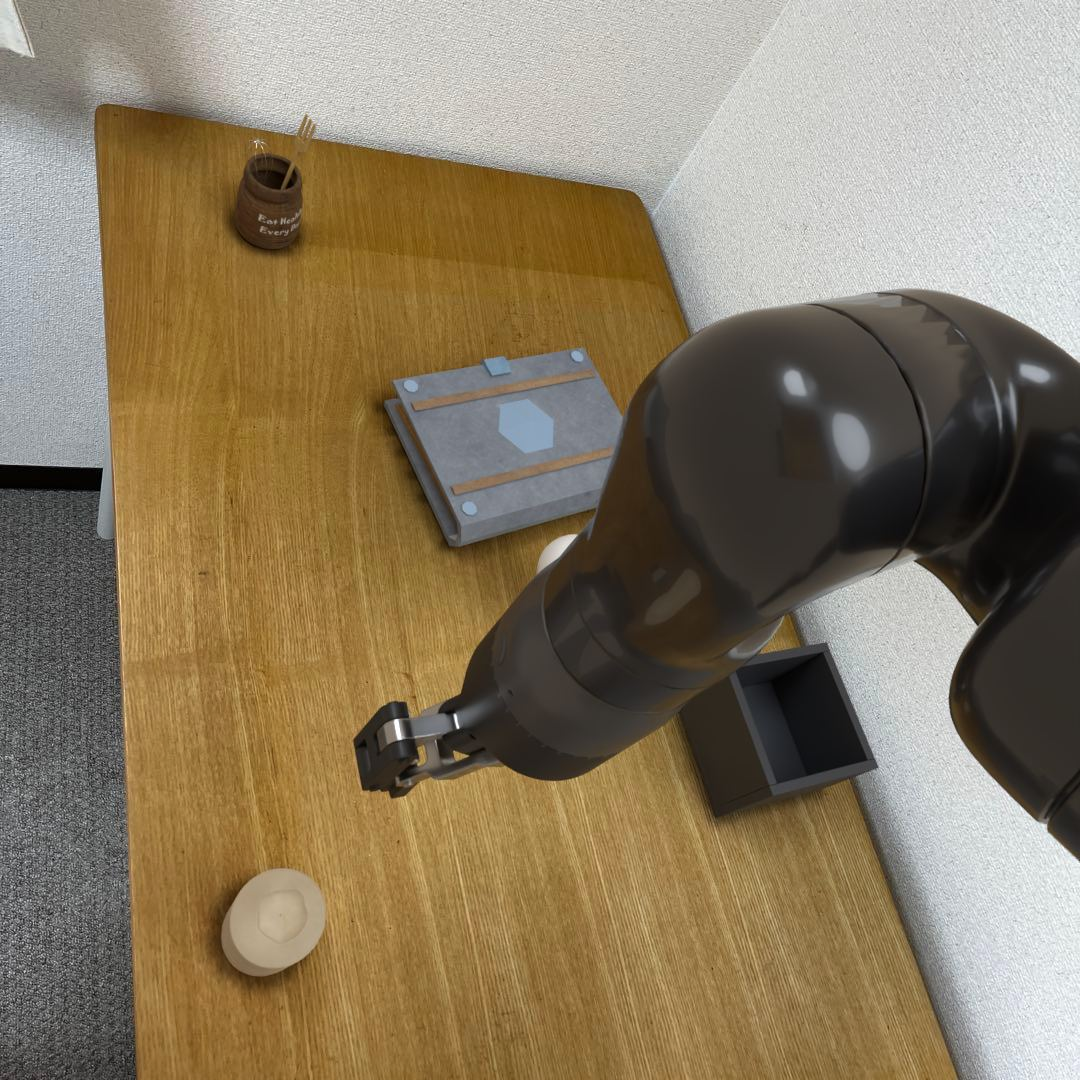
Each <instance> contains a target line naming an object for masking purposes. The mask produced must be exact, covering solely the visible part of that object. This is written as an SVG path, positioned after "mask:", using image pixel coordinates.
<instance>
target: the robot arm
mask: <svg viewBox="0 0 1080 1080" xmlns="http://www.w3.org/2000/svg"><path fill="white" fill-rule="evenodd" d="M622 417H623V420H622V423H621V426H620V430H619V433H618V437H617V440H616V443H615V447H614V450H613V454H612V457H611V461H610V464H609V468H608V471H607V474H606V477H605V480H604V482H603V485H602V489H601V492H600V496H599V500H598V505H597V508H595V509H596V510H595V513H594V515H593V517H591V518H590V519H589V521H588V522H587V523H586V524H585V526H583V528H582V529H581V530H580V532H579V533H577V534H578V535H577V536H576V538H575V539H574V540H573V541H572V542H571V543H570V545H569V546H568V547H567V548H566V549H565V551H564V552H563V553H562V554H561V556H560V557H559V558H557V559H556V560H554V561H553V562H552V563H550V564H549V565H548V566H546V567H545V568H544V569H543V570H541V571H540V572H539V573H538V574H537V573H536V575H535V576H534V577H533V578H532V579H531V580H530V581H529V582H528V583H527V584H526V585H525V587H524V588H523V589H522V591H521V592H519V594H518V595H517V596H516V597H515V599H514V600H513V602H512V603H511V604H510V605H509V606H508V607H507V608H506V610H505V611H504V613H503V614H502V615H501V616H500V617H499V618H498V620H497V621H496V622H495V624H494V625H493V626H492V627H491V628H490V629H489V630H488V632H487V633H486V634H485V636H483V638H482V639H481V641H480V642H478V645H477V646H476V648H475V649H474V651H473V653H472V655H471V656H470V659H469V662H468V664H467V667H466V669H465V670H466V671H465V674H464V678H463V682H462V686H461V691H460V693H459V694H456V695H454V696H452V697H449V698H448V699H444V700H443V701H440V702H438V703H435V704H433V705H431V706H429V707H426V708H424V709H422V710H421V711H420V712H419V715H418V716H415V717H414V716H413V717H412V716H411V711H410V709H409V707H408V703H407V702H406V701H398V700H392V701H390V702H387V703H386V704H384V705H382V706H381V707H379V709H378V710H376V712H375V713H374V714H373V716H372V717H371V718H370V719H369V720H368V721H367V722H366V723H365V725H364V726H363V727H362V728H361V730H360V731H359V732H358V733H357V734H356V736H355V737H354V738H353V739H352V741H353V742H352V743H353V748H354V753H355V759H356V765H357V770H358V775H359V781H360V785H361V786H360V787H361V791H362V792H368V791H369V792H370V793H372V792H373V793H374V792H379V791H380V792H381V793H386V792H388V795H389V797H390V799H391V800H392V799H397V798H402V797H406V796H407V795H408V794H409V793H410V792H411V791H412V790H413V789H414V788H415V787H416V786H417V785H418V784H419V783H420V782H422V781H425V780H428V779H432V780H434V781H455V780H457V779H460V778H462V777H464V776H468V775H470V774H473V773H475V772H477V771H480V770H482V769H485V768H503V767H507V768H508V769H509V770H512V771H513V772H516V773H518V774H519V775H521V776H524V777H527V778H530V779H534V780H539V781H545V782H561V781H568V780H572V779H573V780H574V779H576V778H579V777H582V776H584V775H586V774H588V773H590V772H592V771H593V770H595V769H596V768H598V767H599V766H602V765H603V764H605V763H606V762H607V761H610V760H611V759H613V758H614V757H615V756H617V755H619V754H620V753H622V752H624V751H626V750H627V749H628V748H631V747H632V746H633V745H635V744H636V743H639V742H640V741H642V740H643V739H645V738H647V737H649V735H651V734H653V733H654V732H656V731H658V730H660V728H661V727H664V726H665V725H666V724H667V723H668V722H670V721H671V720H672V719H673V718H674V717H676V715H678V713H680V710H681V709H682V708H683V706H684V705H685V704H686V703H688V702H689V701H690V700H692V699H693V698H695V697H696V696H698V695H700V694H701V693H703V692H704V691H706V690H707V689H709V688H711V687H712V686H714V685H715V684H717V683H719V682H720V681H722V680H724V679H726V678H727V677H728V676H730V675H731V674H733V673H734V672H735V671H737V670H738V669H740V668H741V667H743V666H744V665H745V664H747V663H748V662H749V661H750V660H751V659H752V658H754V657H755V656H756V655H757V654H760V652H761V651H762V650H763V649H764V648H765V647H766V646H767V645H768V644H769V643H770V642H771V641H772V639H773V638H774V636H775V635H776V633H777V632H778V630H779V629H780V628H781V625H782V623H783V621H784V618H785V617H786V616H787V615H789V614H791V613H792V612H794V611H797V610H799V609H801V608H803V607H804V606H806V605H808V604H811V603H812V602H814V601H816V600H819V599H820V598H822V597H825V596H828V595H829V594H831V593H833V592H836V591H839V590H841V589H843V588H846V587H849V586H851V585H854V584H857V583H859V582H861V581H863V580H865V579H868V578H871V577H873V576H876V575H879V574H882V573H885V572H887V571H889V570H892V569H895V568H898V567H901V566H902V565H906V564H909V563H911V562H913V563H915V564H917V565H919V566H920V567H922V568H923V569H924V570H926V571H928V572H929V573H930V574H932V575H933V576H934V577H936V579H937V580H938V581H940V582H941V583H942V585H944V586H945V588H946V589H947V590H948V591H949V592H950V594H952V596H953V597H954V598H955V599H956V600H957V602H958V603H959V604H960V606H961V607H962V608H963V609H964V611H965V612H966V613H967V615H968V616H969V617H970V618H971V620H972V621H973V622H974V624H975V625H976V626H977V627H976V628H975V629H974V631H973V632H972V634H971V635H970V637H969V638H968V641H967V642H966V643H965V645H964V647H963V649H962V651H961V653H960V655H959V656H958V659H957V661H956V664H955V667H954V668H953V672H952V675H951V678H950V682H949V690H948V709H949V710H948V711H949V716H950V718H951V723H952V724H953V727H954V729H955V731H956V733H957V735H958V737H959V738H960V741H961V742H962V743H963V745H964V746H965V748H966V749H967V750H968V752H969V753H970V754H971V756H972V757H973V758H974V759H975V761H976V762H978V764H979V765H980V766H981V767H982V768H983V769H984V770H985V772H986V773H987V774H988V775H989V776H990V777H991V778H992V779H993V780H994V781H995V782H996V783H997V784H998V786H999V787H1001V788H1002V789H1003V790H1004V792H1006V793H1007V794H1008V795H1009V797H1011V798H1012V799H1013V800H1014V801H1015V802H1016V803H1017V804H1018V806H1020V807H1021V808H1022V809H1023V810H1024V811H1025V812H1026V813H1027V814H1028V815H1029V816H1030V817H1031V818H1032V819H1033V820H1034V821H1035V822H1037V823H1039V824H1040V825H1046V831H1047V833H1048V834H1049V835H1050V836H1051V837H1052V838H1053V839H1054V840H1055V841H1056V842H1057V843H1058V844H1059V845H1060V846H1062V847H1063V848H1064V849H1065V850H1066V851H1067V853H1069V854H1070V855H1071V856H1072V857H1073V858H1074V859H1075V860H1076V861H1077V862H1078V863H1079V864H1080V362H1079V361H1078V359H1076V358H1075V357H1073V356H1072V355H1071V354H1069V352H1067V351H1066V350H1065V349H1063V348H1062V347H1061V346H1059V345H1058V344H1057V343H1055V342H1053V341H1052V340H1050V339H1049V338H1048V337H1046V336H1045V335H1044V334H1042V333H1040V332H1039V331H1037V330H1035V329H1034V328H1032V327H1031V326H1029V325H1027V324H1025V322H1022V321H1020V320H1019V319H1016V318H1014V317H1013V316H1010V315H1008V314H1007V313H1004V312H1002V311H1000V310H997V309H995V308H994V307H991V306H988V305H986V304H983V303H981V302H978V301H976V300H974V299H971V298H967V297H964V296H961V295H958V294H955V293H950V292H947V291H943V290H942V291H941V290H935V289H928V288H915V287H914V288H911V287H907V288H905V287H904V288H894V289H893V288H892V289H885V290H879V291H871V292H866V293H865V292H864V293H861V294H854V295H847V296H840V297H833V298H827V299H819V300H811V301H805V302H804V301H803V302H797V303H789V304H784V305H777V306H769V307H761V308H756V309H751V310H746V311H742V312H738V313H735V314H732V315H730V316H726V317H725V318H721V319H719V320H716V321H714V322H712V323H711V324H708V325H707V326H705V327H703V328H701V329H699V330H697V331H696V332H695V333H693V334H691V335H690V336H689V337H687V338H686V339H685V340H683V341H682V342H681V343H680V344H679V345H677V346H676V347H675V348H673V349H672V350H671V351H670V352H669V353H668V354H667V355H666V356H665V357H664V358H662V359H661V360H660V361H659V362H658V363H657V364H656V365H655V366H654V367H653V369H651V371H650V372H649V373H648V374H647V375H646V376H645V378H643V380H642V382H640V384H639V386H638V387H637V389H636V390H635V392H634V394H633V395H632V397H631V399H630V401H629V402H628V405H627V407H626V409H625V412H624V414H623V416H622ZM423 746H424V751H425V755H426V760H425V762H424V763H423V764H420V765H418V764H419V763H420V762H421V758H420V754H419V749H418V748H421V747H423ZM455 752H456V753H459V754H462V755H465V756H466V757H464V758H461V759H459V760H456V757H455Z"/></svg>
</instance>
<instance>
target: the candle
mask: <svg viewBox="0 0 1080 1080" xmlns="http://www.w3.org/2000/svg"><path fill="white" fill-rule="evenodd" d="M326 921H327V907H326V902H325V898H324V895H323V892H322V891H321V889H320V887H319V886H318V884H317V883H316V882H315V881H314V879H312V878H311V876H309V875H307V874H305V873H304V872H302V871H300V870H296V869H294V868H288V867H279V868H278V867H277V868H272V869H267V870H265V871H262V872H261V873H259V874H257V875H255V876H254V877H252V878H250V880H249V881H247V883H246V884H245V885H243V887H242V888H241V889H240V891H239V892H238V894H237V895H236V897H235V899H234V901H233V902H232V904H231V906H229V908H228V910H227V912H226V915H225V917H224V919H223V922H222V926H221V933H220V938H221V947H222V950H223V953H224V955H225V957H226V959H227V961H228V962H229V963H230V964H231V965H232V967H234V968H235V969H236V970H238V971H239V972H240V973H243V974H245V975H248V976H252V977H267V976H271V975H275V974H277V973H279V972H282V971H283V970H286V969H288V968H289V967H291V966H293V965H294V964H296V963H298V962H300V961H302V960H303V959H304V958H306V957H307V956H308V955H309V954H310V953H311V952H312V951H313V950H314V948H315V947H316V945H317V944H318V943H319V941H320V939H321V937H322V934H323V932H324V930H325V926H326Z"/></svg>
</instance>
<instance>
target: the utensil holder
mask: <svg viewBox="0 0 1080 1080" xmlns="http://www.w3.org/2000/svg"><path fill="white" fill-rule="evenodd" d="M307 121H308V122H307ZM312 123H313V119H312V118H310V119H309V115H308V114H307V113H305V114H304V116H303V118H302V121H301V123H300V126H299V129H297V133H296V135H295V138H294V140H293V144H294V148H295V152H294V155H293V158H292V160H290V159H288V158H286V157H285V156H282V155H279V154H276V153H272V151H271V145H270V142H269V141H268V140H266V139H263V138H261V136H258V137H257V138H256V137H254V136H251V138H250V140H248V141H247V142H246V143H245V144H244V156H245V157H246V158H245V159H246V163H245V166H244V169H243V171H242V172H243V173H242V177H241V179H240V181H239V184H238V186H237V194H236V203H235V205H236V206H235V225H236V228H237V231H238V232H239V234H240V235H241V236H242V238H244V240H245V241H247V242H249V243H250V244H251V245H253V246H255V247H258V248H261V249H264V250H279V249H284V248H286V247H288V246H290V245H291V244H292V243H293V242H294V241H295V239H296V237H297V235H298V232H299V228H300V223H301V219H302V218H301V217H302V212H303V206H304V205H303V204H304V199H303V198H304V197H303V191H302V190H303V177H302V173H301V171H300V169H299V168H298V167H297V165H296V164H297V161H298V160H299V157H300V154H302V155H305V154H306V153H307V152H308V149H309V146H310V144H311V142H312V139H313V136H314V133H315V131H316V128H317V124H316V123H313V124H312ZM311 125H312V126H311ZM252 138H253V139H252ZM252 141H254V142H252ZM263 141H266V143H268V146H267V144H266V143H265V142H263ZM249 142H251V143H250V145H249V146H248V149H247V148H246V145H247V144H248V143H249ZM253 144H256V145H255V148H257V146H258V144H259V146H260V150H261V153H258V154H257V152H255V155H253V154H251V157H250V158H249V159H248V155H249V150H250V151H251V152H250V153H253V148H252V145H253ZM262 144H263V145H265V146H267V148H268V149H269V152H265V150H264V148H263V146H262ZM246 149H247V150H246Z"/></svg>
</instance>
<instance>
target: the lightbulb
mask: <svg viewBox="0 0 1080 1080" xmlns="http://www.w3.org/2000/svg"><path fill="white" fill-rule="evenodd" d="M578 534H579V533H577V534H576V533H571V534H565V535H563V536H562V535H561V536H559V537H557V538H556V539H554V540H552V541H550V542H549V544H548V545H546V546H545V548H544V549H543V551H542V552H541V553H540V556H539V559H538V561H537V566H536V575H537V574H538V573H539V572H540V571H541V570H543V569H544V568H545V567H546V566H548V565H549V564H550V563H552V562H553V561H554V560H556V559H557V558H559V557H560V556H561V554H562V553H563V552H564V551H565V549H566V548H567V547H568V546H569V545H570V543H571V542H572V541H573V540H574V539H575V538H576V536H577V535H578Z"/></svg>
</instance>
